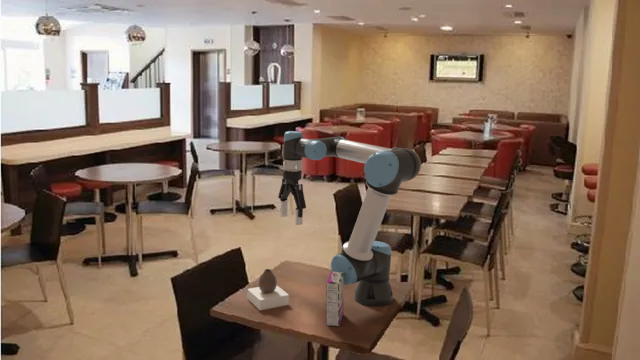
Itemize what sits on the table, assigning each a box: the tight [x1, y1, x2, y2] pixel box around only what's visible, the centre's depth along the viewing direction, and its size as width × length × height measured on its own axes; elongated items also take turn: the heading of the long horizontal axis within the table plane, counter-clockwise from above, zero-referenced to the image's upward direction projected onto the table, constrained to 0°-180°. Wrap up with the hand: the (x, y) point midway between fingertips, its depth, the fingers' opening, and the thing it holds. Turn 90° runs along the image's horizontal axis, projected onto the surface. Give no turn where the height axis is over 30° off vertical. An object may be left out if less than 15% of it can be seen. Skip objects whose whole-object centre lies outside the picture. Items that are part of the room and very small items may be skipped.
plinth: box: [246, 285, 290, 311], centre depth 222 cm, size 12×12×4 cm
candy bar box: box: [325, 270, 345, 327], centre depth 207 cm, size 11×5×16 cm, turn 170°
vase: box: [258, 268, 278, 294], centre depth 221 cm, size 7×7×9 cm
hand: (291, 220), depth 239 cm, fingers open, 13 cm apart
